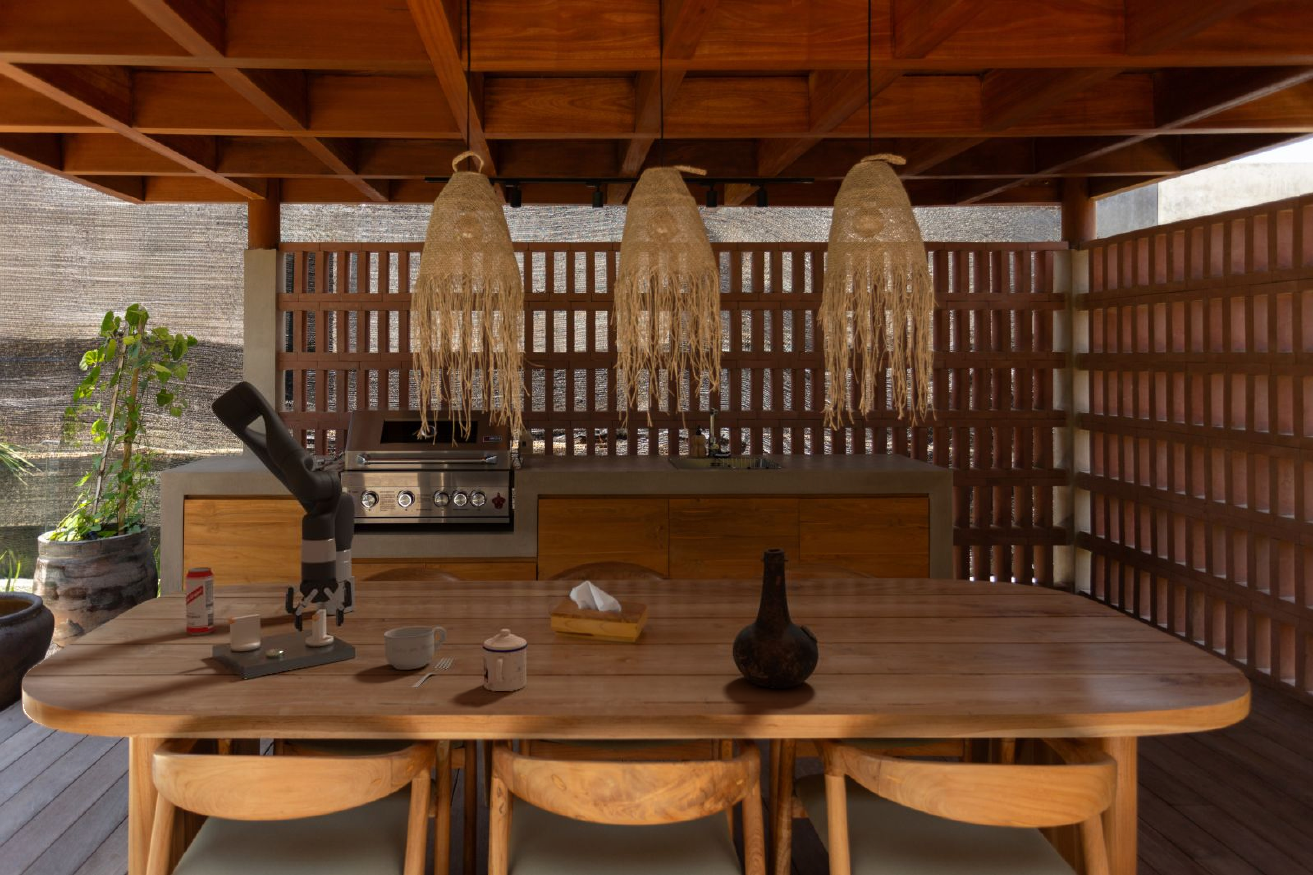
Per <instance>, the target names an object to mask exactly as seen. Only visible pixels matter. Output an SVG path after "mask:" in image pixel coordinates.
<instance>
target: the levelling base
mask: <svg viewBox="0 0 1313 875" xmlns="http://www.w3.org/2000/svg"><path fill="white" fill-rule="evenodd" d="M326 635H330V636H333V643H331V644H329V645H325V646H307V645H306V642H305V639H306V638H308V637H311V636H312V628H310V629H309V628H308V629H304V630H302V631H300V632H299V631H298V630H297V631H293V632H292V631H291V632H286V633H279V634H275V635H269V636H267V635H266V636H262V637H261V636H260V647H259V648H257V649H254V650H249V651H233V650H231V645H230V642H228V643H226V642H225V643H221V644H216V645H214V644H213V645H211V646H212V648H211V649H212V652H211V653H212V657H213V659H215V660H217V661H218V662H219V663H220V664H222V665H223V664H224V666H225V667H227V668H228V669H229V668H230V669H231V670H230V669H229V670H230V671H232V672H233V673H234V672H235V673H234V674H236V673H237V674H238V675H237V674H236V675H237V676H238V677H240V678H241V677H242V678H241V679H243V678H244V679H245V678H251V679H254V678H253V677H256V678H258V677H257V676H261V677H263V676H262V675H266V674H270V673H276V674H279V673H278V672H281V671H286V670H290V669H296V668H301V669H304V667H306V668H310V667H309V666H311V667H315V666H314V665H316V666H320V664H322V665H325V664H326V665H327V664H330V663H331V664H332V663H337V662H341V660H342V661H345V659H347V660H352V659H356V646H354V645H353V644H350V643H348V642H346V641H344V640H342V639H340V638H338V637H336V636H334V635H332V634H330V633H328V632H326ZM296 670H297V669H296ZM286 672H287V671H286ZM281 673H282V672H281ZM266 676H267V675H266ZM244 679H243V680H244Z"/></svg>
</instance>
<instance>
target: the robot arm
mask: <svg viewBox="0 0 1313 875" xmlns="http://www.w3.org/2000/svg"><path fill="white" fill-rule="evenodd" d="M211 411H212V413H213V414H214V415H215V417H216V418H217V419H218V420H219V421H220V422H221V423H222V425H224V426H225V427H226V429H228V430H229V431H230V432H231V433H233V434H234V435H235V436H236V437H237V438H238V440H240V441H241V442H243V444H245V445H246V446H247V447H248V448H249V449H250V450H251V451H252V453H253V454H255V456H256V457H257V458H258V459H259V461H261V463H262V464H263V465H264V466H265V467H266V469H267V470H268V471H269V472H271V474H273V476H274V477H275V478H276V479H277V480H278V481H279V482H280V483H281V484H283V486H284V487H285V488H286V489H287V490H288V491H289V492H290V493H291V494H292V495H293V496H294V497H295V499H296V500H297V501H298V502H299V504H300V505H301V507H302V508H303V509H304V511H305V512H306V514H304V515H303V516H302V520H301V545H300V546H301V547H300V572H301V573H300V578H301V579H300V584H299V585H287V586H285V587H286V588H285V608H284V610H285V612H287V614H289V615H293V616H294V617H293V618H294V621H293V622H294V628H295V629H296V630H297V631H299V632H300V631H303V614H302V613H303V612H304V611H305V609H306V608H307V607H308V606H309V605H310V603H311V604H315V610H316V611H315V613H316V612H318V611H319V610H325V609H326V616H328V615H329V616H330V615H331V616H332V615H334V616H335V626H336V627H341V626H342V624H344V622H345V616H344V615H345V614H346V613H349V612H351V611H355V608H356V607H355V603H356V602H355V576H354V575H352V543H353V540H354V539H353V538H354V534H355V533H354V532H355V515H356V514H355V513H356V512H355V511H356V510H355V509H356V507H355V502H354V498H353V497H352V495H351V494H350V493H349V492H346V491H343V484H342V481H341V478H340V477H339V475H338V474H337V473H336V472H335V471H333V470H318V471H316V470H315V471H312V470H313V468H314V465H315V464H314V459H313V457H312V456H311V455H310V453H309V452H308V451H307V450H306V449H305V448H304V447H303V446H302V445H301V444H300V442H299V441H297V440H296V438H295V437H294V436H293V434H292V433H291V431H290V430H289V429H288V428H287V426H286V425H285V423H284V422H283V420H282V419H281V417H280V416H279V415H278V413H277V412H276V411H275V409H274V408H273V406H272V405H271V404H270V402H269V401H268V400H267V399H266V397H265V396H264V395H263V394H262V393H261V392H260V390H259V389H258V388H257V387H256V386H254V385H253V384H252V383H251V382H249V381H246V380H243V381H241V382H238V383H236V384H235V385H234V386H233V387H231V388H229V390H227V391H226V392H224V393H223V394H222V395H220V396H219V397H217V399H215V400H214V401H213V402H212V404H211ZM260 417H262V419H263V421H264V422H263V423H264V427H265V429H264V430H265V433H262V432H259V431H256V430H254V429H252V428H250V427H249V425H251V424H253V422H255V421H257V419H259V418H260ZM298 592H299V593H300V594H302V595H303V596H302V597H301V598H300V600H299V602H298V604H297V605H296V606H295V607H294V597H295V596H297V594H298Z"/></svg>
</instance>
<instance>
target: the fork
mask: <svg viewBox="0 0 1313 875" xmlns="http://www.w3.org/2000/svg"><path fill="white" fill-rule="evenodd" d="M446 660H447V661H446ZM453 660H454V658H450V657H446V658H445V657H443V658H441V660H440V661H439V662H438V663H437V664H436V666H435V667H434V668H436V669H438V668H440V669H442V668H444V669H447V668H448V669H449V667H450V665H451V664H452V662H453ZM448 669H447V670H448ZM435 674H436V673H435V672H428V673H426V674H425V675H424V676H423V677H422V678H420V679H419V680H418V681H417V682H415V683H414V684H413V685H411V686H410V687H417V688H419V687H420V685H421V684H422V683H423V682H424V681H425V680H426V679H427V678H428V677H429V676H430V675H435Z"/></svg>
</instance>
